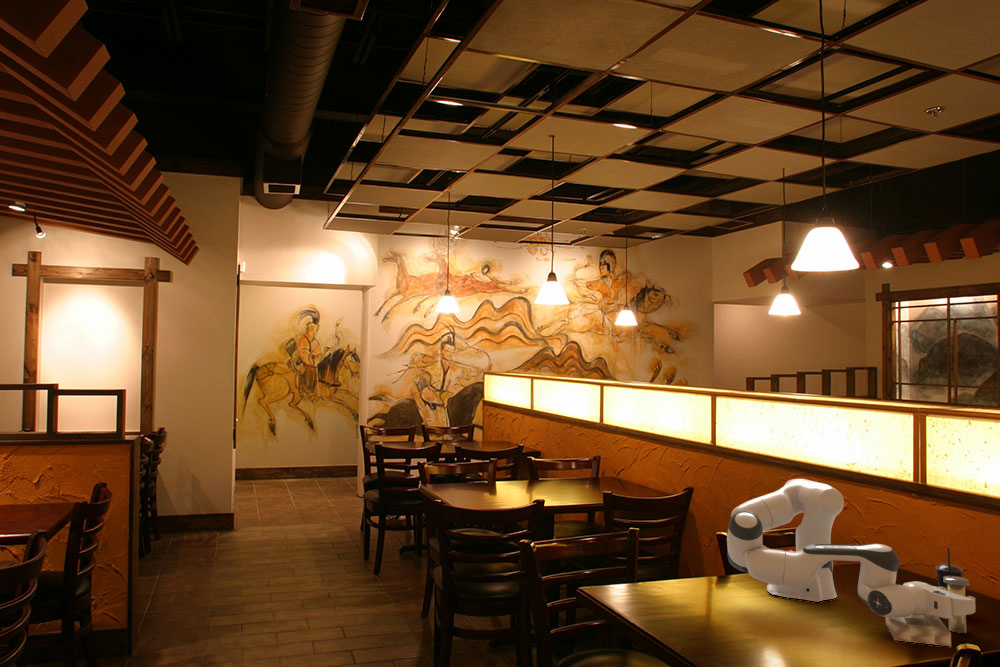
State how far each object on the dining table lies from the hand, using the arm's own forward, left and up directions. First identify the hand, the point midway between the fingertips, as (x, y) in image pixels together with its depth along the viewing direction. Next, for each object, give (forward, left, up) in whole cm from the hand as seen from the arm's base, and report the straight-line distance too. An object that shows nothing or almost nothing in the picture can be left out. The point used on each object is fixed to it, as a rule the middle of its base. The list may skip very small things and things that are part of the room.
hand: (958, 594), depth 213 cm
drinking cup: (+2, +19, -11) cm, 22 cm away
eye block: (-13, -9, -10) cm, 19 cm away
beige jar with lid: (-1, -1, -10) cm, 11 cm away
